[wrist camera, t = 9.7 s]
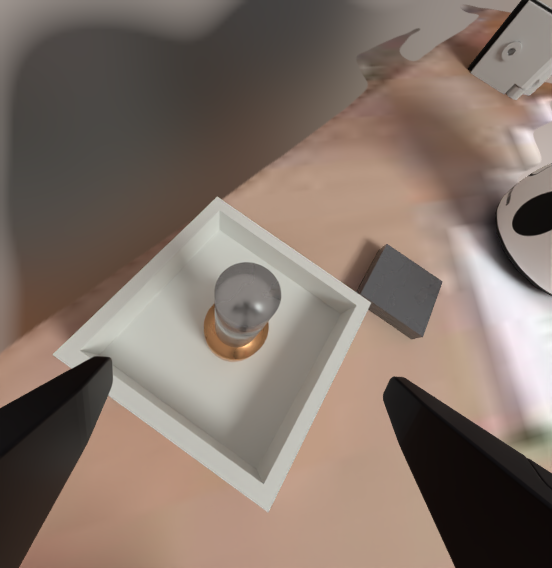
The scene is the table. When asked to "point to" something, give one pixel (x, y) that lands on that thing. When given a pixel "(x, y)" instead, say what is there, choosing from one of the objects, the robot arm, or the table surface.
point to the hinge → (518, 51)
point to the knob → (241, 311)
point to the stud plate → (400, 291)
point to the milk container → (529, 227)
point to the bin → (212, 370)
